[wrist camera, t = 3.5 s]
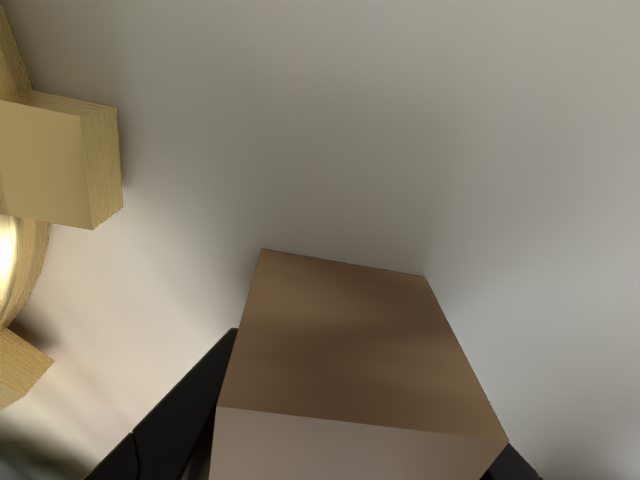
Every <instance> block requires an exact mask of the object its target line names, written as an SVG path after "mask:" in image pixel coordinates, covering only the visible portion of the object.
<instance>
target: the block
mask: <svg viewBox="0 0 640 480" xmlns="http://www.w3.org/2000/svg"><path fill="white" fill-rule="evenodd" d="M508 443H509V439H508V438H507V436H506V434H505V432H504V430H503V428H502V426H501V424H500V422H499V420H498V418H497V416H496V414H495V412H494V410H493V408H492V406H491V405H490V403H489V401H488V399H487V397H486V395H485V393H484V391H483V389H482V387H481V385H480V383H479V381H478V379H477V377H476V375H475V373H474V372H473V370H472V368H471V366H470V364H469V362H468V360H467V358H466V356H465V354H464V352H463V350H462V348H461V346H460V344H459V342H458V340H457V338H456V337H455V335H454V333H453V331H452V329H451V327H450V325H449V323H448V321H447V319H446V317H445V315H444V313H443V311H442V309H441V307H440V305H439V304H438V302H437V300H436V298H435V296H434V294H433V292H432V290H431V288H430V286H429V284H428V282H427V280H426V278H425V277H422V276H416V275H410V274H404V273H399V272H393V271H387V270H381V269H375V268H370V267H364V266H358V265H352V264H347V263H341V262H335V261H329V260H324V259H318V258H312V257H306V256H301V255H295V254H289V253H283V252H278V251H272V250H266V249H261V252H260V256H259V259H258V263H257V266H256V270H255V273H254V277H253V280H252V284H251V287H250V291H249V294H248V298H247V301H246V305H245V308H244V312H243V315H242V319H241V322H240V326H239V329H238V333H237V336H236V340H235V343H234V346H233V350H232V353H231V357H230V360H229V364H228V367H227V371H226V374H225V378H224V381H223V385H222V388H221V392H220V395H219V399H218V402H217V406H216V415H215V425H214V435H213V445H212V454H211V464H210V474H209V480H479V479H480V478H481V477H482V476H483V474H484V473H485V472H486V471H487V469H488V468H489V467H490V465H491V464H492V463H493V462H494V460H495V459H496V458H497V457H498V455H499V454H500V453H501V452H502V450H503V449H504V448H505V447H506V445H507V444H508Z"/></svg>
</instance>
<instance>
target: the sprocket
mask: <svg viewBox="0 0 640 480" xmlns="http://www.w3.org/2000/svg"><path fill="white" fill-rule="evenodd" d="M121 208H123V197H122V182H121V167H120V152H119V138H118V123H117V108H115V107H111V106H106V105H101V104H96V103H92V102H87V101H82V100H77V99H73V98H68V97H63V96H58V95H54V94H49V93H44V92H40V91H35V90H33V89H32V85H31V82H30V80H29V77H28V74H27V71H26V68H25V66H24V63H23V60H22V57H21V54H20V52H19V49H18V46H17V43H16V40H15V38H14V35H13V32H12V29H11V26H10V24H9V21H8V18H7V15H6V13H5V10H4V8H3V6H2V4H1V2H0V410H2V409H4V408H5V407H7V406H9V405H10V404H12V403H14V402H15V401H17V400H19V399H20V398H22V397H24V396H25V395H26V394H27V392H28V391H29V390H30V389H31V388H32V387H33V386H34V384H35V383H36V382H37V381H38V380H39V379H40V378H41V376H42V375H43V374H44V373H45V372H46V371H47V369H48V368H49V367H50V366H51V365H52V364H53V363H54V360H53V359H51V358H50V357H48V356H47V355H45V354H44V353H43V352H41V351H40V350H38V349H37V348H35V347H34V346H32V345H31V344H29V343H28V342H26V341H25V340H24V339H22V338H21V337H19V336H18V335H16V334H15V333H13V332H12V331H10V330H9V329H7V327H8V326H9V325H10V323H11V322H12V321H13V320H14V318H15V317H16V316H17V314H18V313H19V312H20V311H21V309H22V308H23V307H24V305H25V304H26V303H27V301H28V298H29V296H30V294H31V292H32V290H33V288H34V286H35V284H36V282H37V280H38V277H39V275H40V272H41V268H42V264H43V260H44V256H45V252H46V248H47V244H48V240H49V225H50V223H54V224H60V225H66V226H72V227H78V228H84V229H90V230H93V229H95V228H96V227H97V226H99V225H100V224H101V223H103V222H104V221H105V220H107V219H108V218H109V217H111V216H112V215H113V214H115V213H116V212H117V211H119V210H120V209H121Z"/></svg>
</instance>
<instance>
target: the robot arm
mask: <svg viewBox="0 0 640 480" xmlns="http://www.w3.org/2000/svg"><path fill="white" fill-rule="evenodd" d="M237 333H238V328H231V329H230V330H229V331H228V332H227V333H226V334H225V335H224V336H223V337H222V338H221V339H220V340H219V341H218V342H217V343H216V344H215V345H214V346H213V347H212V348H211V349H210V350H209V351H208V352H207V353H206V354H205V355H204V356H203V357H202V358H201V360H200V361H199V362H198V363H197V364H196V365H195V366H194V367H193V368H192V369H191V370H190V371H189V372H188V373H187V374H186V375H185V376H184V377H183V378H182V379H181V380H180V381H179V382H178V383H177V384H176V385H175V386H174V387H173V388H172V389H171V390H170V392H169V393H168V394H167V395H166V396H165V397H164V398H163V399H162V400H161V401H160V402H159V403H158V404H157V405H156V406H155V407H154V408H153V409H152V410H151V411H150V412H149V413H148V414H147V415H146V416H145V417H144V418H143V419H142V420H141V421H140V422H139V424H138V425H137V426H136V427H135V428H134V429H133V430H132V433H129V434H128V435H127V436H126V437H125V438H124V439H123V440H122V441H121V442H120V443H119V444H118V445H117V446H116V447H115V448H114V449H113V450H112V451H111V452H110V453H109V454H108V455H107V456H106V457H105V458H104V459H103V460H102V461H101V462H100V463H99V464H98V465H97V466H96V467H95V468H94V469H93V470H92V471H91V472H90V473H89V474H87V475H86V476H85V477H84V478H83V479H82V480H209V474H210V464H211V454H212V445H213V435H214V425H215V415H216V406H217V402H218V399H219V395H220V392H221V388H222V385H223V381H224V378H225V374H226V371H227V367H228V364H229V360H230V357H231V353H232V350H233V346H234V343H235V340H236V336H237ZM479 480H544V479H543V478H542V477H539V475H538V473H537V472H536V471H535V470H534V469H533V468H532V467H531V466H530V465H529V464H528V462H527V461H526V460H525V459H524V458H523V457H522V456H521V455H520V454H519V453H518V452H517V451H516V450H515V449H514V448H513V446H512V445H511V444H510V443H508V444H507V445H506V447H505V448H504V449H503V450H502V452H501V453H500V454H499V455H498V457H497V458H496V459H495V460H494V462H493V463H492V464H491V465H490V467H489V468H488V469H487V471H486V472H485V473H484V474H483V476H482V477H481V478H480V479H479Z"/></svg>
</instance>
